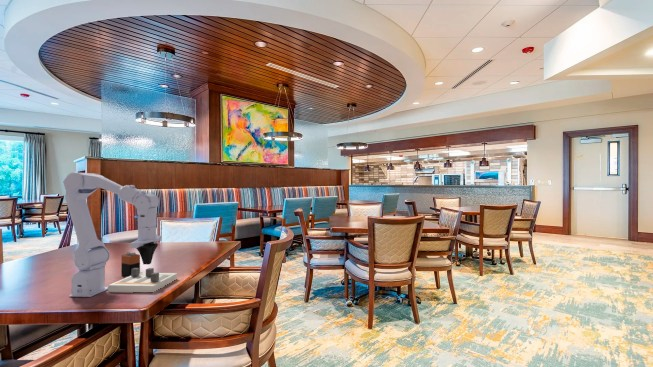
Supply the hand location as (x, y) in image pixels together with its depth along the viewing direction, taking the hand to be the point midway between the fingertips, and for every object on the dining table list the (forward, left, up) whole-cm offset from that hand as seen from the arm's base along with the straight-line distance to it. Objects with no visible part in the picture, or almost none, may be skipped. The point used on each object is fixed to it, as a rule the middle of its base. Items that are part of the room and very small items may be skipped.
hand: (147, 264), depth 109 cm
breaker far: (+11, +12, -8) cm, 18 cm away
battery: (+20, +20, -11) cm, 30 cm away
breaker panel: (+8, +6, -10) cm, 14 cm away
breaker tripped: (+5, 0, -8) cm, 9 cm away
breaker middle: (+11, +6, -8) cm, 14 cm away
